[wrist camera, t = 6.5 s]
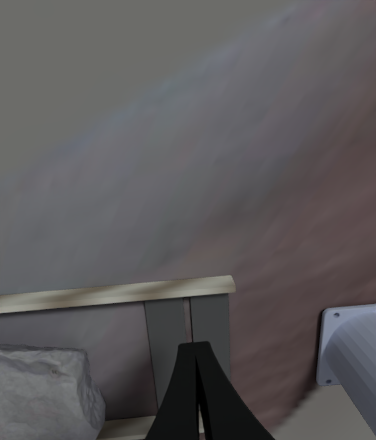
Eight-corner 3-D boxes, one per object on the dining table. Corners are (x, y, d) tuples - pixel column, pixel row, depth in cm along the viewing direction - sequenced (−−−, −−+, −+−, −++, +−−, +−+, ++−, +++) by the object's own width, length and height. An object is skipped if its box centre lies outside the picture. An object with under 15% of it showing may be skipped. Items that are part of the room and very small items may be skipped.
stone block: (-46, 336, 24) (-18, 438, 26) (-98, 371, 20) (-61, 495, 21) (90, 311, 25) (112, 412, 26) (72, 339, 20) (99, 462, 21)
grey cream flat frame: (231, 275, 22) (235, 286, 20) (233, 411, 26) (237, 428, 25) (-82, 302, 21) (-102, 315, 20) (-25, 438, 26) (-37, 458, 24)
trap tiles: (227, 286, 22) (228, 288, 22) (230, 403, 26) (231, 406, 26) (143, 294, 22) (143, 296, 22) (159, 411, 26) (159, 414, 26)
